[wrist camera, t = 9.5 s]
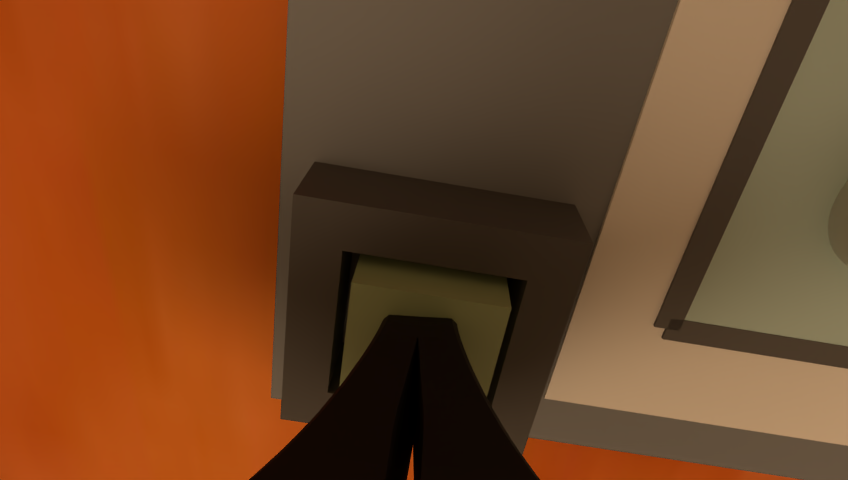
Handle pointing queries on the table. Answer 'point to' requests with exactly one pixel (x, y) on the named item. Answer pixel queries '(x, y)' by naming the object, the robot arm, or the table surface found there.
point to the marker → (839, 225)
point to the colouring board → (586, 210)
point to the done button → (428, 307)
